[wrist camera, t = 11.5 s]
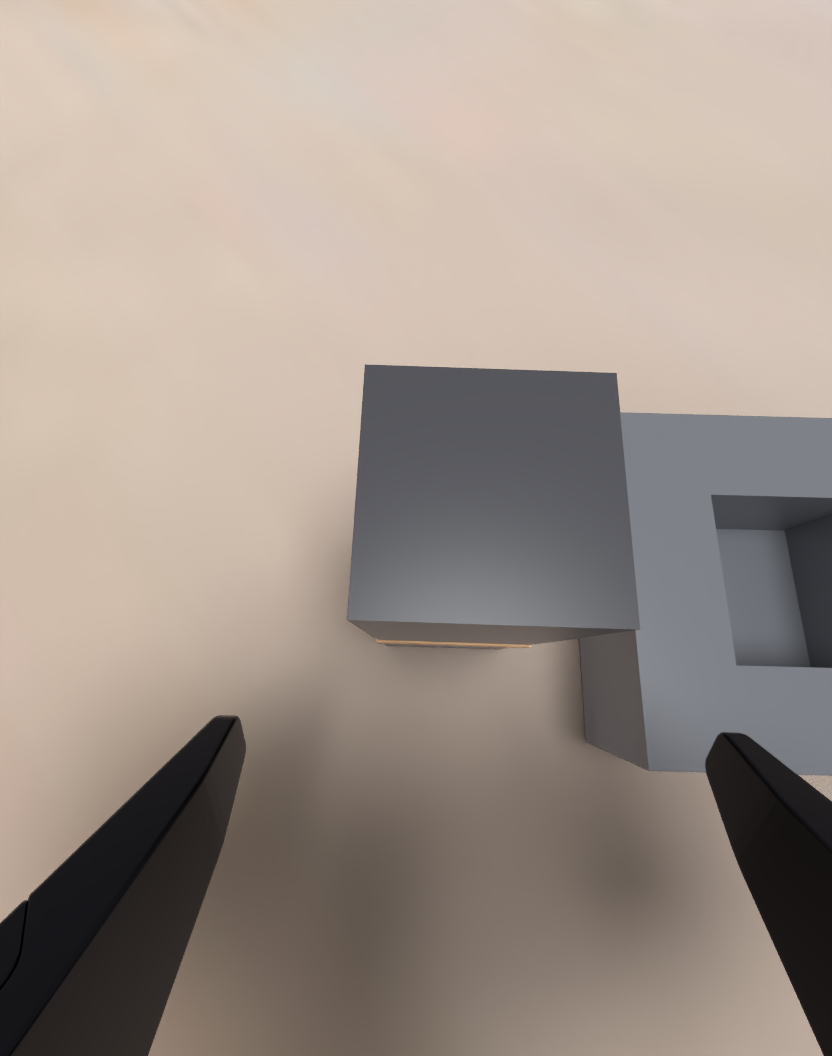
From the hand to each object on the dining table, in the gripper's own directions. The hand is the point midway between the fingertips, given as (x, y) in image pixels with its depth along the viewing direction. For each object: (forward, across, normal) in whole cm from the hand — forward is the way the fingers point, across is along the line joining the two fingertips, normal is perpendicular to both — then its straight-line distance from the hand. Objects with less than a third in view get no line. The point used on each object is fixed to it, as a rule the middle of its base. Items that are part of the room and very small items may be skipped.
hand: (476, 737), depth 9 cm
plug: (+8, 0, +3) cm, 9 cm away
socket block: (+8, -10, +3) cm, 13 cm away
